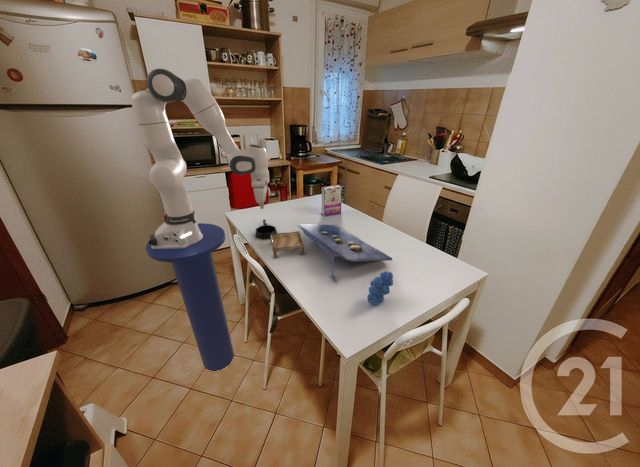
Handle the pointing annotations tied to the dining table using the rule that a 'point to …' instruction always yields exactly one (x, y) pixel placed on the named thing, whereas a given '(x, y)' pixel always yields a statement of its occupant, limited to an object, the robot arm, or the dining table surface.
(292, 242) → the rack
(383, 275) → the grapes
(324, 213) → the candy bar box
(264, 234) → the pan
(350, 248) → the blue piece
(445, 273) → the dining table surface
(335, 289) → the dining table surface
